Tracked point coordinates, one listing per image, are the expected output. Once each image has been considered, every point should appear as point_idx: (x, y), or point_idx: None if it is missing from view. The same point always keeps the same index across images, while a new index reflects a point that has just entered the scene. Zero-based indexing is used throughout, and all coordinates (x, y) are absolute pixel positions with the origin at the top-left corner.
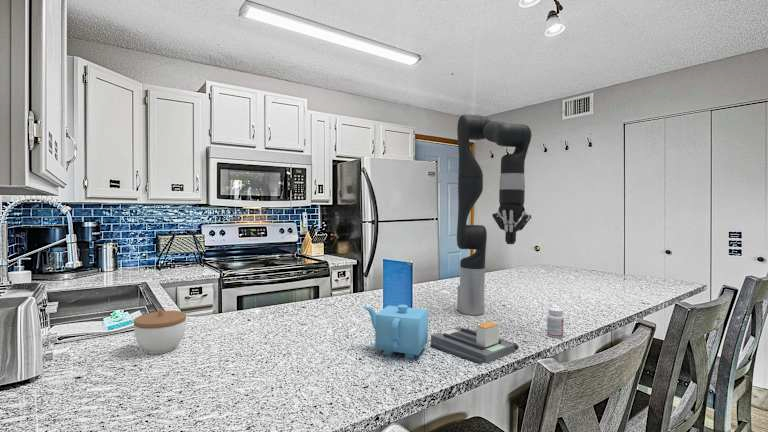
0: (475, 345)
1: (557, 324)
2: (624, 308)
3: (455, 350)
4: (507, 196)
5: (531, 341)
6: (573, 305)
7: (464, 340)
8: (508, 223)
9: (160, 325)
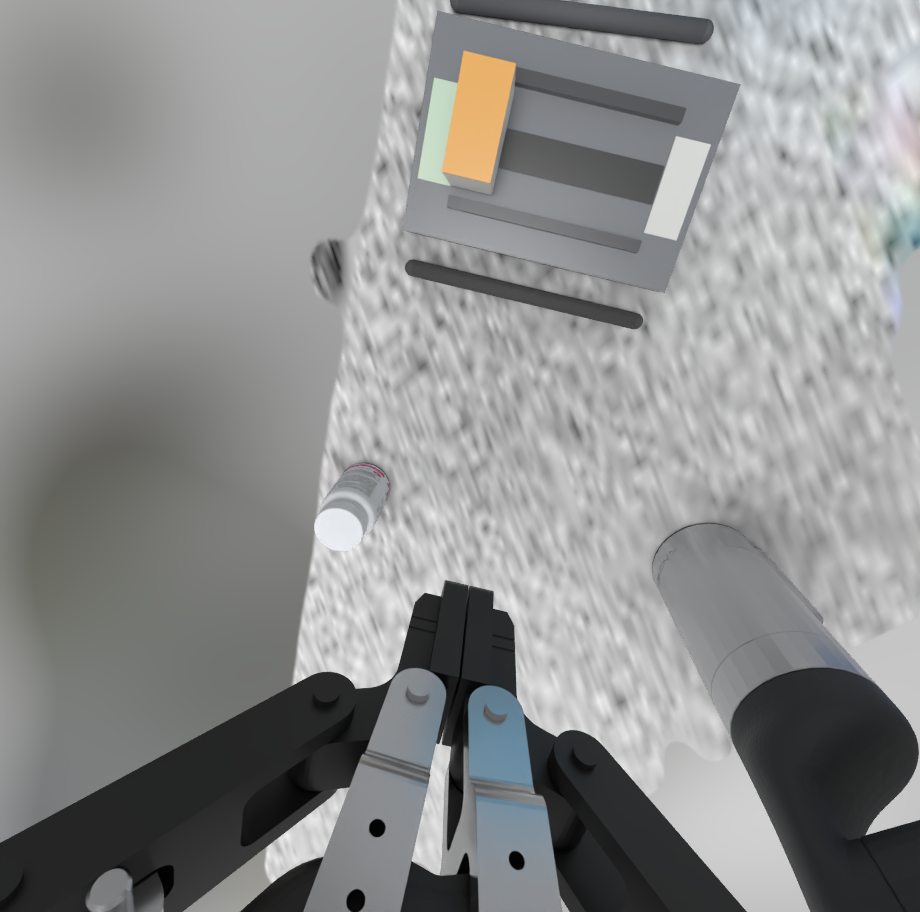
0: None
1: (337, 484)
2: (305, 833)
3: (576, 7)
4: None
5: (402, 379)
6: (426, 800)
7: (568, 87)
8: (464, 820)
9: None
